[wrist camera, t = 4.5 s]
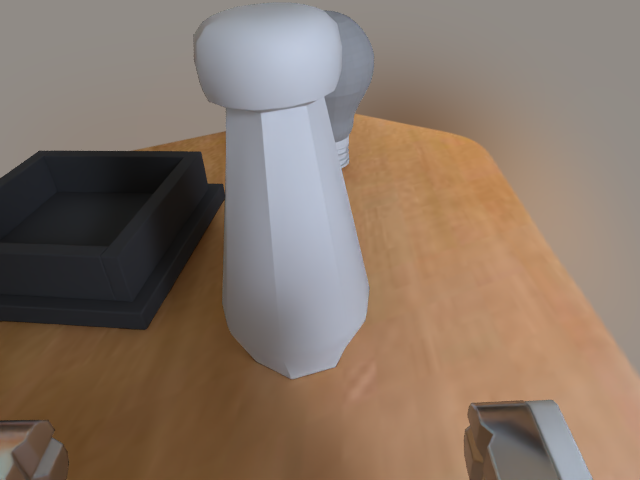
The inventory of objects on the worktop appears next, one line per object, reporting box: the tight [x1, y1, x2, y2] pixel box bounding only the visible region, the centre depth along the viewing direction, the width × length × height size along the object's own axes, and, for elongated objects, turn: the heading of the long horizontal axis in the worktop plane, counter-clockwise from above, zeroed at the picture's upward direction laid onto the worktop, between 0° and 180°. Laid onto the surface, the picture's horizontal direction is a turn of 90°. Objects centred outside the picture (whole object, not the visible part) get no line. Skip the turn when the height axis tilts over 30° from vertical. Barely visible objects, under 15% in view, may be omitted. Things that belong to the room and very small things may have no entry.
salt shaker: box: [193, 3, 370, 379], centre depth 18 cm, size 6×6×13 cm
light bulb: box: [324, 11, 374, 168], centre depth 32 cm, size 6×6×10 cm
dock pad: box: [0, 151, 225, 330], centre depth 27 cm, size 12×12×4 cm
